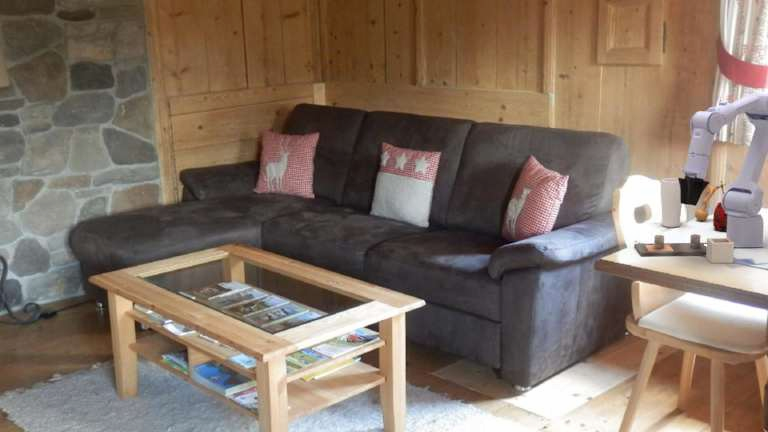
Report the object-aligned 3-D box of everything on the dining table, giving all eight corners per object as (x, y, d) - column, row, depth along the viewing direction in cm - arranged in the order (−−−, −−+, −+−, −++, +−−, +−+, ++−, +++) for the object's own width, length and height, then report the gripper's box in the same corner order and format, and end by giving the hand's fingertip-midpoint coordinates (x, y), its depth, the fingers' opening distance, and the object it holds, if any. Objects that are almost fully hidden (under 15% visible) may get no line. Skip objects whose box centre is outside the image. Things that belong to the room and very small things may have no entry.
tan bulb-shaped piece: (695, 217, 281) (697, 181, 279) (715, 218, 279) (716, 182, 276) (694, 223, 274) (695, 186, 271) (714, 224, 272) (715, 187, 269)
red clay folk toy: (720, 233, 260) (723, 185, 257) (707, 228, 267) (709, 181, 264) (742, 231, 262) (745, 183, 259) (728, 226, 269) (731, 179, 265)
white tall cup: (683, 228, 268) (685, 181, 265) (660, 228, 269) (662, 181, 266) (680, 223, 274) (682, 177, 271) (658, 223, 276) (659, 177, 272)
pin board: (711, 245, 247) (712, 230, 246) (721, 255, 237) (722, 239, 236) (634, 247, 249) (634, 232, 248) (640, 256, 240) (641, 240, 239)
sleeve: (727, 257, 235) (728, 237, 234) (733, 262, 230) (734, 243, 228) (706, 257, 236) (706, 238, 234) (711, 263, 230) (712, 243, 229)
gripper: (677, 153, 238) (667, 200, 239) (691, 151, 224) (679, 202, 224) (702, 158, 237) (692, 205, 238) (718, 157, 223) (706, 207, 224)
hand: (688, 204), depth 231 cm, fingers open, 7 cm apart
